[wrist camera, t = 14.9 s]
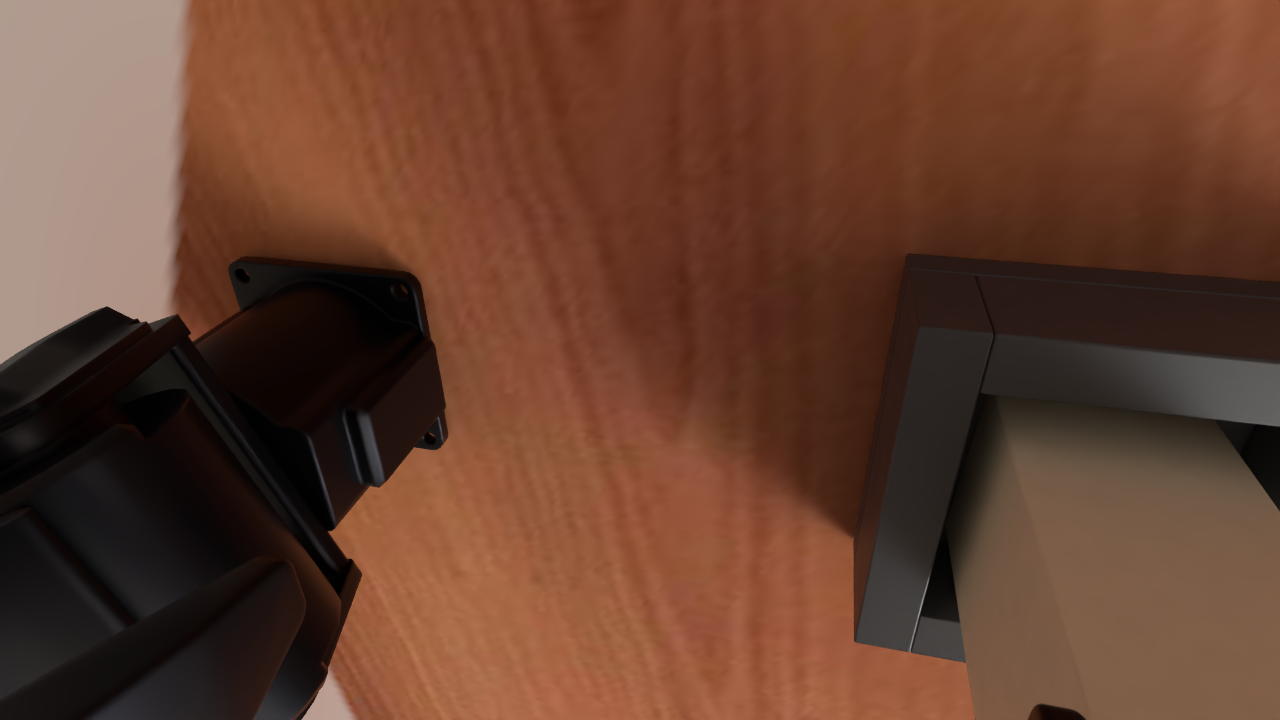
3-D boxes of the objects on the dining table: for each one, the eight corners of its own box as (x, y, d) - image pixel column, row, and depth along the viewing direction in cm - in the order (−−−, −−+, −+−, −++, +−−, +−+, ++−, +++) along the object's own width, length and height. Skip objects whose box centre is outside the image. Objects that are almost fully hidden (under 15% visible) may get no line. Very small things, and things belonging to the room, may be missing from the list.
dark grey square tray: (853, 541, 24) (853, 643, 21) (906, 252, 19) (918, 326, 16) (1203, 595, 22) (1266, 718, 19) (1371, 288, 17) (1499, 382, 13)
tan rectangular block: (940, 526, 22) (1028, 1140, 11) (986, 376, 19) (1166, 995, 8) (1136, 560, 21) (1447, 1272, 10) (1215, 407, 18) (1762, 1157, 7)
